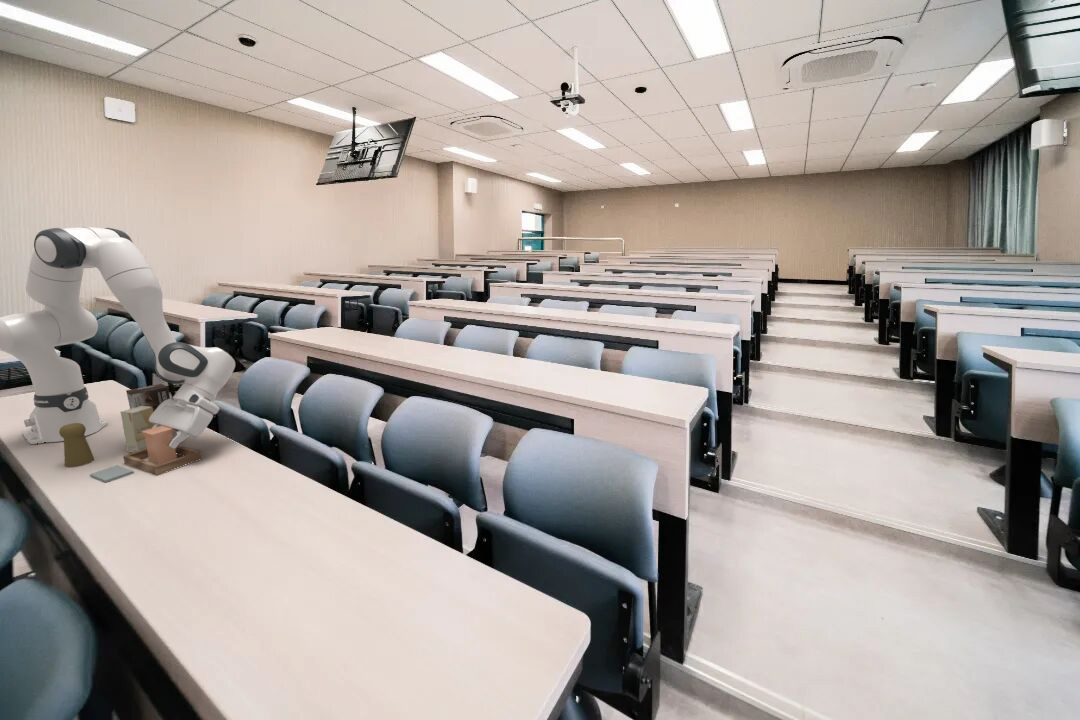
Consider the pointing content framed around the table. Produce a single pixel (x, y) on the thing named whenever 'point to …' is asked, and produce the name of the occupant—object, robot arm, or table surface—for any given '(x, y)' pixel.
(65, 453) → the cork
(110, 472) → the slate mat
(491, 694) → the table surface
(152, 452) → the peach upright block
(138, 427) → the skincare box
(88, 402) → the robot arm
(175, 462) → the walnut frame
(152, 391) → the coffee box
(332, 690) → the table surface
